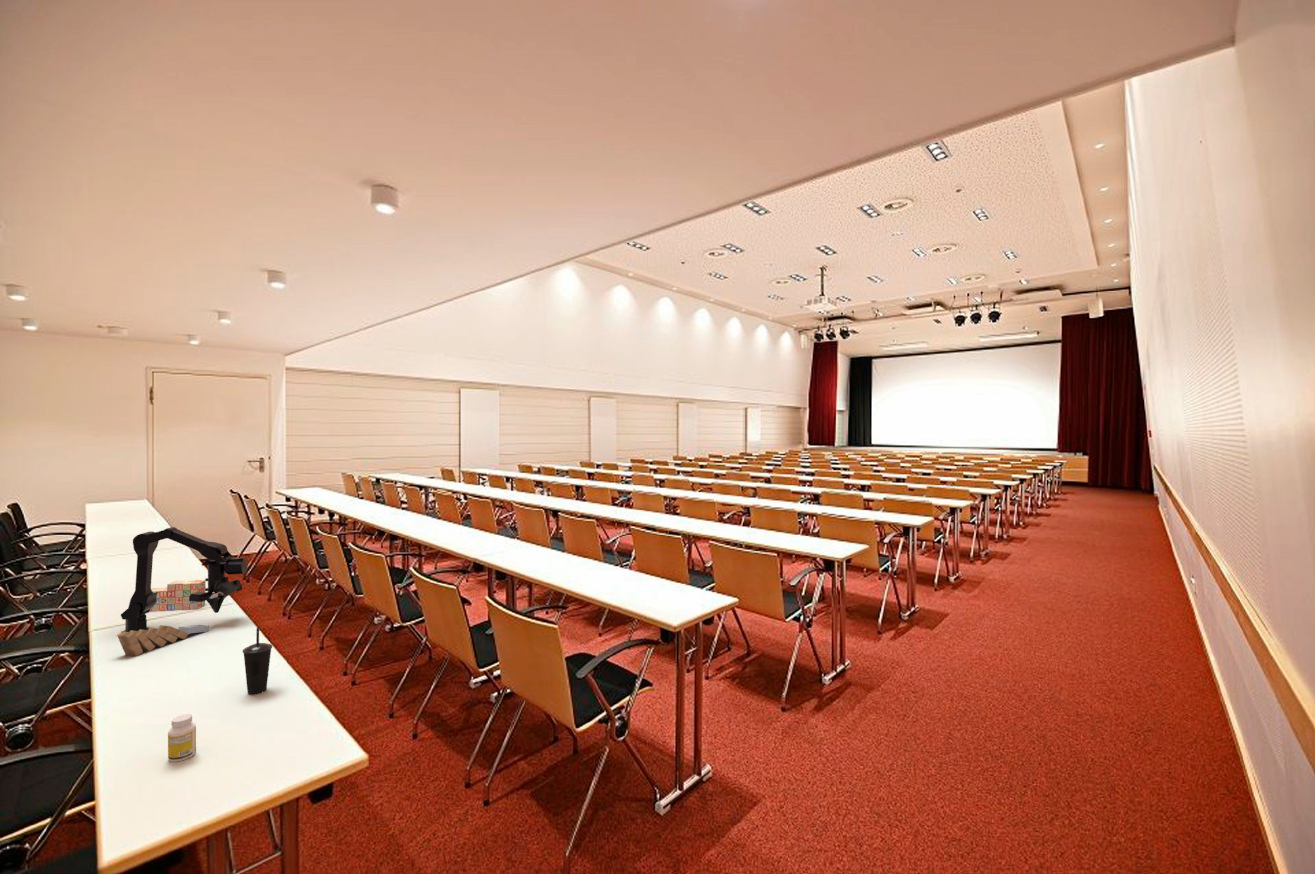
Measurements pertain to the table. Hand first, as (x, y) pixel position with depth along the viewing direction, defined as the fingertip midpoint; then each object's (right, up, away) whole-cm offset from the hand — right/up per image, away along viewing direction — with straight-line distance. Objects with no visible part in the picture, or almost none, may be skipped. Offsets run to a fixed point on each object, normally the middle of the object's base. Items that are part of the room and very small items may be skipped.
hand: (216, 612), depth 237 cm
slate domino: (-1, -5, -5) cm, 7 cm away
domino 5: (-3, -5, -14) cm, 15 cm away
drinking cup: (+58, -7, -58) cm, 82 cm away
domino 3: (-5, -5, -22) cm, 23 cm away
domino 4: (-4, -5, -18) cm, 19 cm away
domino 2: (-5, -5, -26) cm, 27 cm away
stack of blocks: (-36, -5, +22) cm, 43 cm away
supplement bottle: (+64, -7, -94) cm, 114 cm away
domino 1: (-6, -6, -31) cm, 32 cm away
